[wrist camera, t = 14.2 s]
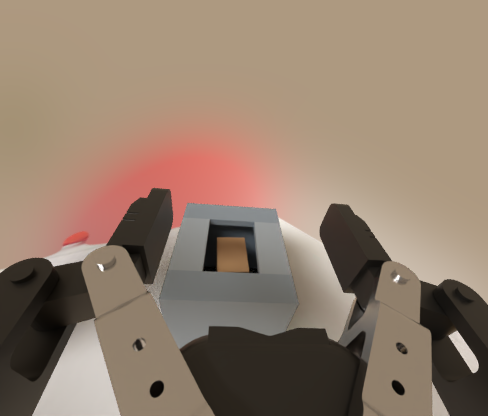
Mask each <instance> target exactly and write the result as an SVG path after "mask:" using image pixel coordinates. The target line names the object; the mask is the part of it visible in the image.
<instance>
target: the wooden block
mask: <svg viewBox="0 0 488 416" xmlns="http://www.w3.org/2000/svg"><path fill="white" fill-rule="evenodd" d="M215 272H234V273H249V266H248V259H247V252H246V245H245V238H238V237H217V250H216V270H215Z"/></svg>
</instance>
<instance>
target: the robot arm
mask: <svg viewBox="0 0 488 416" xmlns="http://www.w3.org/2000/svg"><path fill="white" fill-rule="evenodd" d="M172 222H173V211H172V200H171V191H170V190H169V189H159V188H153V189H152V190H151V192H150V194H149V195H148V197H147V198H139V199H138V200H136V201H135V202H134V203H132V204H131V206H130V207H129V209H128V211H127V214H125V216H124V217H123V220H122V221H121V222H120V224H119V225H118V227H117V229H116V230H115V232H114V234H113V236H112V237H111V238H110V240H109V242H108V243H107V245H106V246H104V247H101V248H99V249H96V250H95V251H93V252H91V253H90V254H89V255H88V256H87V257H86V258H85V259H84V261H80V262H76V263H70V264H65V265H60V266H55V267H53V265H52V264H51V262H50V261H49V260H47V259H44V258H31V259H26V260H23V261H20V262H18V263H15V264H13V265H11V266H10V267H8V268H6V269H5V270H4V271H2V272H1V273H0V416H32V414H33V412H34V410H35V408H36V406H37V404H38V402H39V400H40V398H41V396H42V393H43V391H44V389H45V387H46V385H47V383H48V381H49V379H50V377H51V375H52V373H53V371H54V369H55V367H56V365H57V363H58V361H59V358H60V356H61V354H62V352H63V350H64V348H65V346H66V344H67V342H68V340H69V338H70V336H71V334H72V332H73V330H74V328H75V326H76V323H78V322H81V321H85V320H89V319H92V318H96V319H95V320H94V323H95V327H96V331H97V335H98V338H99V342H100V345H101V349H102V352H103V355H104V359H105V362H106V366H107V369H108V373H109V376H110V380H111V383H112V387H113V390H114V394H115V397H116V401H117V404H118V408H119V411H120V415H121V416H432V382H433V384H434V386H435V388H436V390H437V392H438V394H439V396H440V398H441V399H442V401H443V403H444V405H445V407H446V409H447V411H448V413H449V415H450V416H488V305H487V304H486V302H485V301H484V300H483V299H482V298H481V297H480V296H479V295H478V294H477V293H476V292H475V291H474V290H472V289H471V288H470V287H468V286H466V285H464V284H463V283H460V282H458V281H455V280H451V279H447V280H444V281H443V282H442V283H441V284H439V285H438V286H436V285H433V284H429V283H426V282H423V281H420V280H419V279H418V277H417V276H416V275H415V273H413V272H412V271H411V270H410V269H409V268H407V267H406V266H404V265H402V264H400V263H397V262H393V261H392V260H391V259H390V257H389V256H388V254H387V253H386V252H385V250H384V249H383V248H382V246H381V244H380V243H379V241H378V240H377V239H376V238H375V236H374V234H373V233H372V232H371V230H370V228H369V227H368V226H367V224H366V223H365V222H364V221H363V220H362V219H361V218H359V217H358V216H357V215H355V214H354V213H353V211H352V210H351V208H350V207H349V206H348V205H344V204H331V205H330V207H329V209H328V211H327V213H326V215H325V217H324V220H323V221H322V224H321V226H320V237H321V240H322V242H323V244H324V247H325V249H326V252H327V254H328V256H329V259H330V261H331V264H332V266H333V268H334V271H335V273H336V275H337V278H338V280H339V283H340V285H341V287H342V290H343V292H344V293H354V294H355V296H356V298H355V299H354V300H353V303H352V306H351V309H350V312H349V315H348V318H347V321H346V325H345V328H344V331H343V334H342V336H341V338H340V340H339V341H338V342H336V341H333V340H331V339H329V338H328V336H327V333H326V330H325V329H316V328H296V329H293V330H289V331H286V332H282V333H279V334H275V335H271V336H268V335H264V334H261V333H258V332H254V331H251V330H248V329H245V328H241V327H230V326H209V331H208V335H205V336H201V337H199V338H196V339H194V340H192V341H191V342H189V343H187V344H186V345H184V346H183V347H182V348H180V349H179V348H178V346H177V344H176V342H175V340H174V338H173V336H172V334H171V332H170V330H169V328H168V326H167V324H166V322H165V320H164V318H163V316H162V314H161V312H160V311H159V309H158V307H157V305H156V303H155V301H154V299H153V297H152V295H151V293H150V292H149V291H147V290H146V288H145V286H144V284H153V281H154V278H155V275H156V272H157V269H158V266H159V263H160V260H161V257H162V254H163V251H164V248H165V245H166V242H167V239H168V236H169V233H170V230H171V227H172ZM457 330H458V332H459V333H460V335H461V336H462V338H463V339H464V340H465V342H466V343H467V345H468V346H469V348H470V349H471V350H472V352H473V353H474V355H475V356H476V358H477V360H478V363H479V369H478V371H477V372H476V373H472V372H471V370H470V369H469V367H468V366H467V364H466V362H465V361H464V359H463V358H462V356H461V355H460V353H459V352H458V350H457V349H456V347H455V346H454V344H453V343H452V341H451V340H450V338H449V337H448V335H450V334H452V333H453V332H455V331H457Z"/></svg>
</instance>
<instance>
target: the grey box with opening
mask: <svg viewBox="0 0 488 416" xmlns="http://www.w3.org/2000/svg"><path fill="white" fill-rule="evenodd" d="M217 237H238V238H245V245H246V252H247V259H248V266H249V268H254V269H258V273H234V272H210V271H203V268H204V266H208V267H216V250H217ZM159 302H160V307H161V311H162V316H163V318H164V320H165V322H166V324H167V326H168V328H169V330H170V332H171V334H172V336H173V338H174V340H175V342H176V344H177V346H178V348H179V349H180V348H182V347H183V346H184V345H186V344H187V343H189V342H191V341H192V340H194V339H196V338H199V337H201V336H205V335H208V331H209V326H230V327H241V328H245V329H248V330H251V331H254V332H258V333H261V334H264V335H268V336H271V335H275V334H279V333H282V332H285V331H286V329H287V327H288V325H289V323H290V321H291V319H292V317H293V315H294V313H295V310H296V308H297V306H298V304H299V302H298V298H297V294H296V290H295V286H294V282H293V278H292V274H291V269H290V265H289V261H288V257H287V253H286V249H285V245H284V240H283V236H282V232H281V228H280V224H279V220H278V216H277V212H276V209H267V208H252V207H238V206H223V205H208V204H194V203H188V204H187V206H186V210H185V213H184V216H183V220H182V223H181V227H180V230H179V233H178V237H177V240H176V243H175V247H174V250H173V254H172V257H171V260H170V264H169V267H168V270H167V274H166V277H165V281H164V284H163V287H162V291H161V294H160V297H159Z"/></svg>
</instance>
